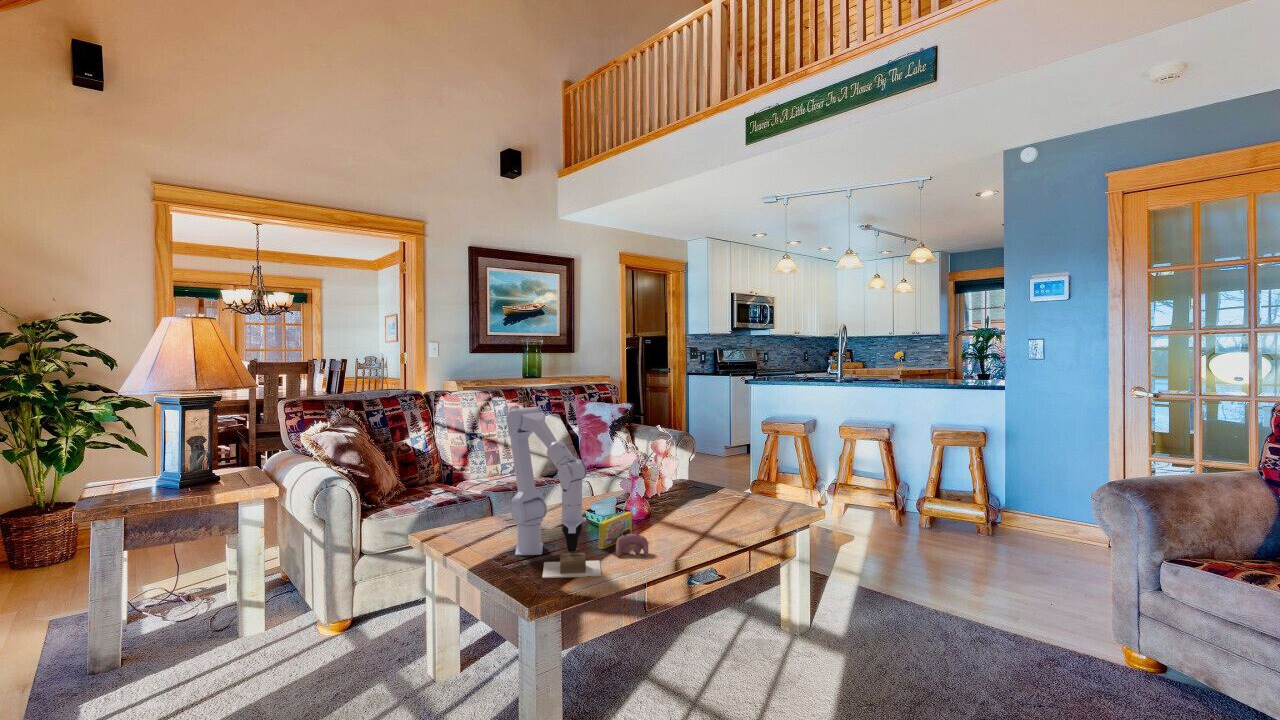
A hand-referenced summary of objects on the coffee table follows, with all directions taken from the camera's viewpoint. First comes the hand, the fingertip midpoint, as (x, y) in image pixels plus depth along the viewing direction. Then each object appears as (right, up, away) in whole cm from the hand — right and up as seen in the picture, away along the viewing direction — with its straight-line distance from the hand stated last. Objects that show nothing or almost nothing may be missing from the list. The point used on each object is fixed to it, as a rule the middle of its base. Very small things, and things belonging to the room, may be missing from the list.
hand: (571, 550), depth 175 cm
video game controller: (+17, -5, +11) cm, 21 cm away
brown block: (0, -3, 0) cm, 3 cm away
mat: (0, -5, -2) cm, 5 cm away
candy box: (+12, -5, +22) cm, 25 cm away
